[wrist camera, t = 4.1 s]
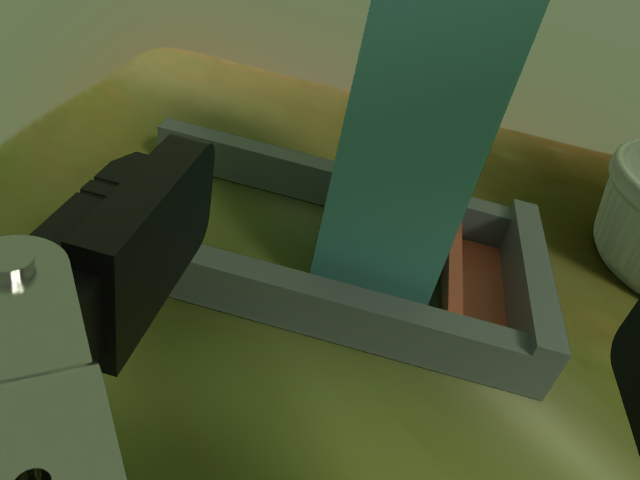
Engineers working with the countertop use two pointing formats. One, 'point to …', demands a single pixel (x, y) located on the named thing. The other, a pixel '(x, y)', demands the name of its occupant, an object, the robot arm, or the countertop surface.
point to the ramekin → (621, 216)
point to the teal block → (418, 136)
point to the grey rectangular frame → (385, 310)
